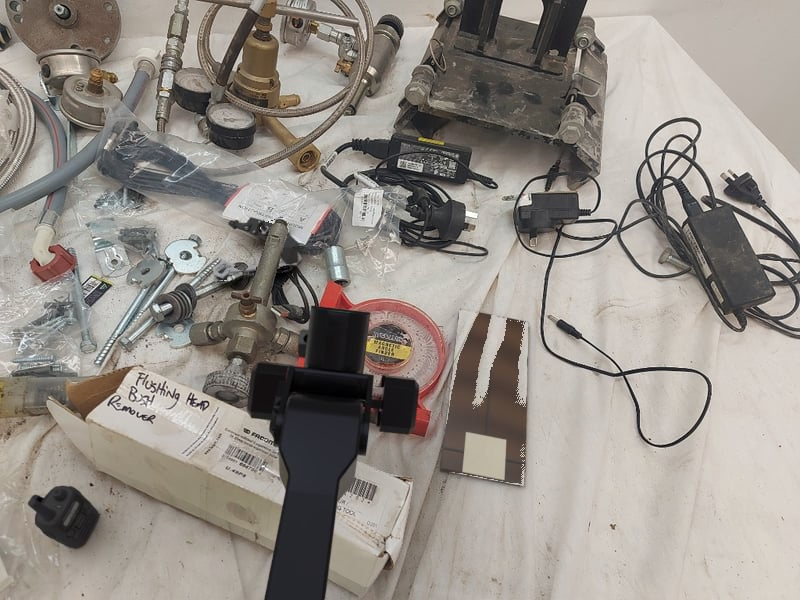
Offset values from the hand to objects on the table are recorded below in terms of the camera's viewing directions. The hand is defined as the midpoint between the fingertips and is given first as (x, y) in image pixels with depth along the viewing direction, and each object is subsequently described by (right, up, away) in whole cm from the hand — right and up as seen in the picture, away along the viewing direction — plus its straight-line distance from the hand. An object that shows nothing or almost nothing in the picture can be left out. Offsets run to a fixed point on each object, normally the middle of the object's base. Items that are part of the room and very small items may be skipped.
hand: (338, 387), depth 73 cm
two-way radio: (-33, -17, -1) cm, 37 cm away
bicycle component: (-17, +19, +27) cm, 37 cm away
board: (+22, -3, +17) cm, 27 cm away
